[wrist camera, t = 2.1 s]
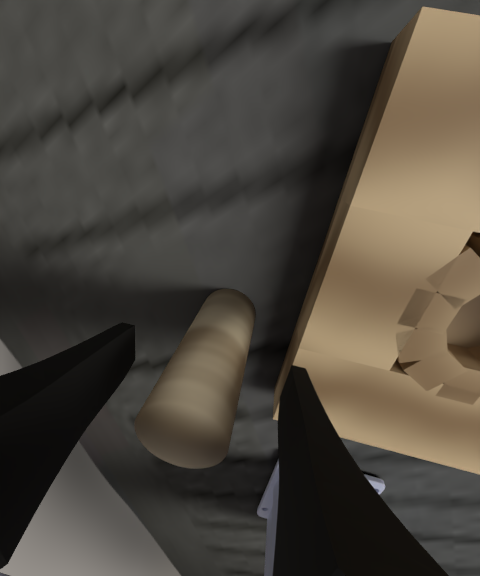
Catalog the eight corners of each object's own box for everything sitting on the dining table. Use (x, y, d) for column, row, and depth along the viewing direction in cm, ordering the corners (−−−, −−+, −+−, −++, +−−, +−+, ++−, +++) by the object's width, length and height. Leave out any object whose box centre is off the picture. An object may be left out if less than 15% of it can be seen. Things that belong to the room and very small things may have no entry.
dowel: (249, 339, 16) (220, 478, 9) (200, 327, 16) (135, 453, 9) (260, 296, 15) (236, 419, 8) (206, 283, 15) (134, 392, 8)
